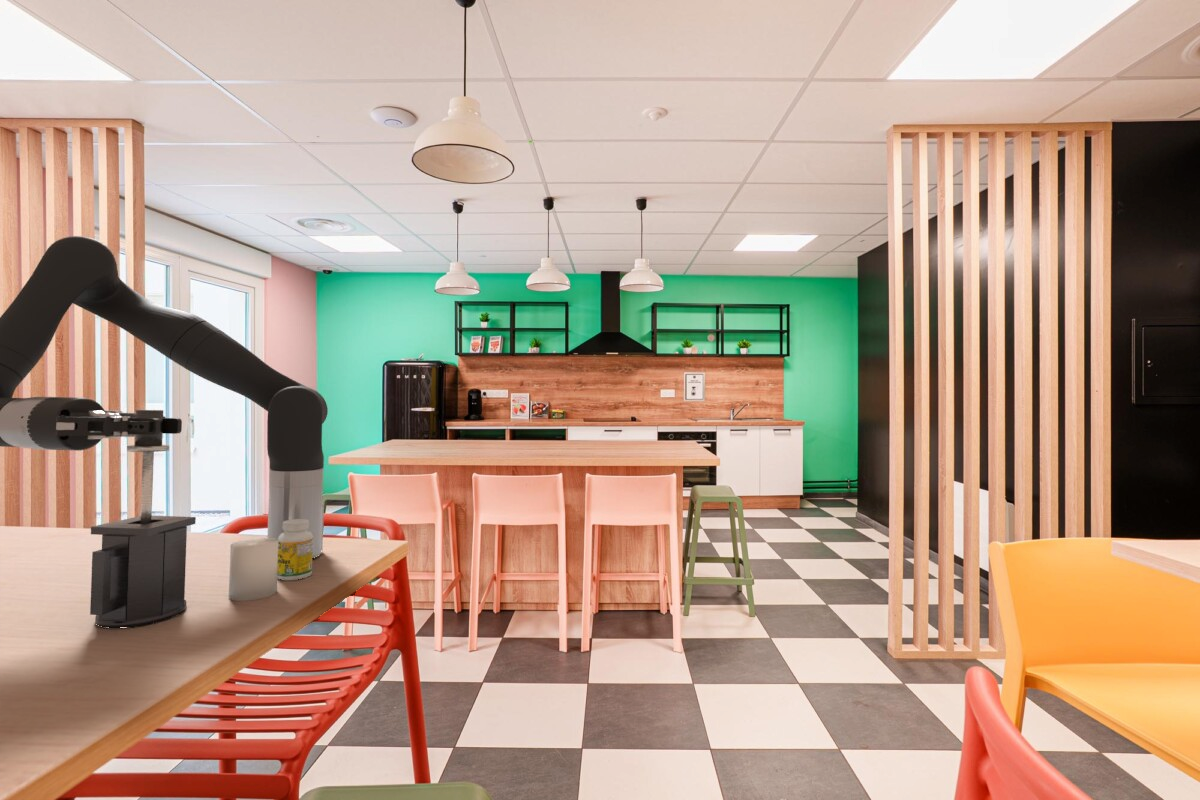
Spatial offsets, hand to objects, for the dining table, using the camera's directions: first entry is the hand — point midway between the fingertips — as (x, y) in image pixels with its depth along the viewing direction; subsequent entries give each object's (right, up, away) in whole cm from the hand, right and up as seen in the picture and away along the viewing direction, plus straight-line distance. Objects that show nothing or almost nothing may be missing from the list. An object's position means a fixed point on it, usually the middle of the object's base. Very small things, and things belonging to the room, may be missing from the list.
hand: (168, 426), depth 77 cm
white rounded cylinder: (+6, -27, +9) cm, 29 cm away
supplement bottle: (+8, -27, +18) cm, 34 cm away
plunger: (-3, -19, 0) cm, 19 cm away
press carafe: (-3, -26, 0) cm, 27 cm away
